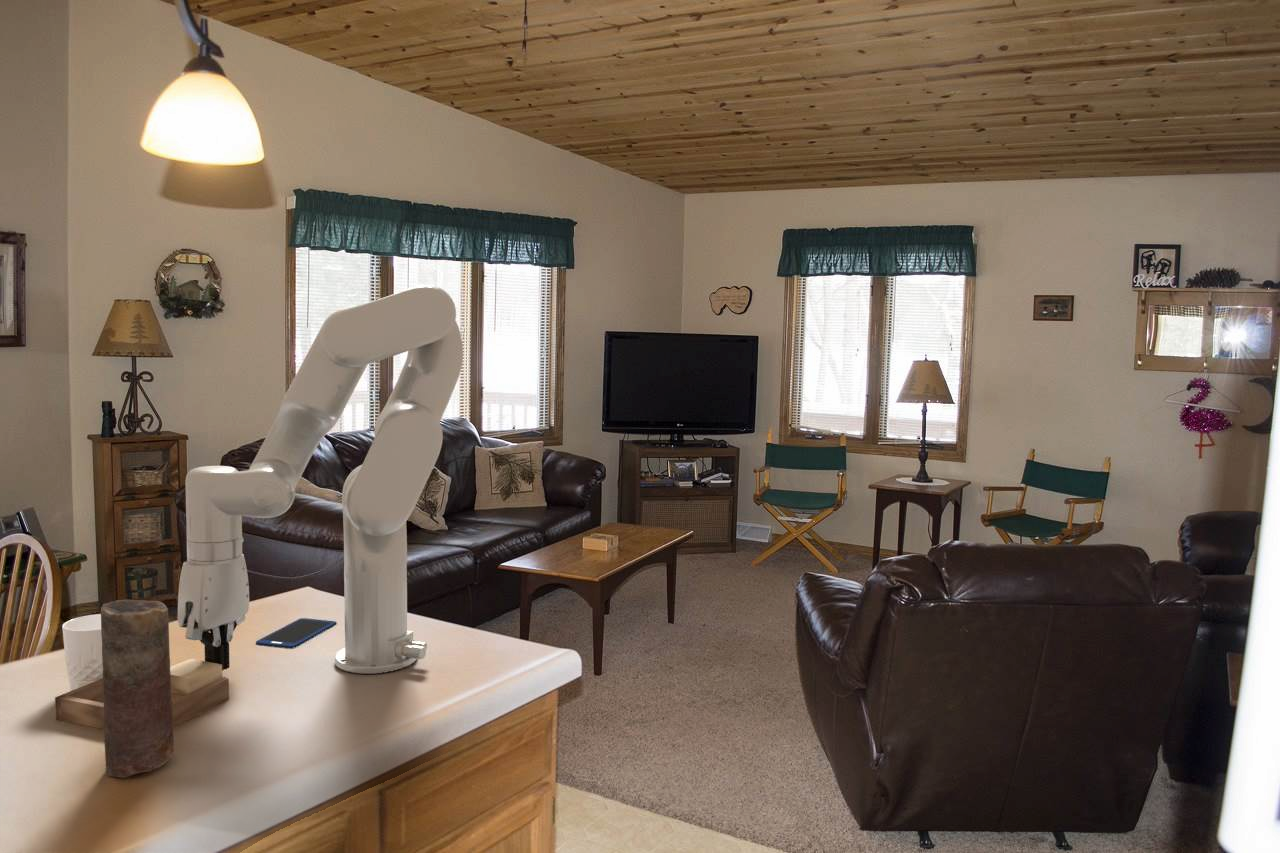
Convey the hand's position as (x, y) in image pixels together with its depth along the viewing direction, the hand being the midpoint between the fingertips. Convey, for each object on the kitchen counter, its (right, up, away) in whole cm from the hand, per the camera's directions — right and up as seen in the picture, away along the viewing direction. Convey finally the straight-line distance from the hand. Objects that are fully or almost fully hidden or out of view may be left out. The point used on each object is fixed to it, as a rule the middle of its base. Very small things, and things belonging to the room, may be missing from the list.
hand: (217, 668), depth 145 cm
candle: (+4, -5, -29) cm, 30 cm away
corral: (-4, -2, -13) cm, 14 cm away
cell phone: (+5, 0, +20) cm, 21 cm away
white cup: (-15, -2, -6) cm, 16 cm away
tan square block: (-2, -2, -4) cm, 5 cm away
